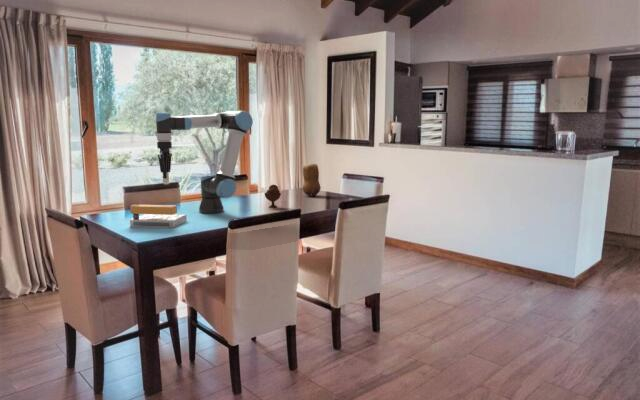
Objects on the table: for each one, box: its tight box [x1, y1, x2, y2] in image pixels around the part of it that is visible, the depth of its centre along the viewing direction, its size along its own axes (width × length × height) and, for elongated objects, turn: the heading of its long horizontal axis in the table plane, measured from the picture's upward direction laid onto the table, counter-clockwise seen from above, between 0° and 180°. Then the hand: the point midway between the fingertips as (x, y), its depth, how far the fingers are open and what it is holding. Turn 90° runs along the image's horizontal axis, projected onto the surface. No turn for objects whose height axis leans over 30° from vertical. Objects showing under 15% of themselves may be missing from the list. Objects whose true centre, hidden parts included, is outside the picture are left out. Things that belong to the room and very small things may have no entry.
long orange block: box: [130, 203, 178, 215], centre depth 259 cm, size 6×24×4 cm, turn 83°
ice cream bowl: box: [264, 184, 282, 209], centre depth 318 cm, size 11×11×15 cm
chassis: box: [129, 213, 188, 229], centre depth 266 cm, size 18×24×7 cm
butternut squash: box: [302, 163, 322, 197], centre depth 366 cm, size 14×13×25 cm
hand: (166, 184), depth 267 cm, fingers closed
